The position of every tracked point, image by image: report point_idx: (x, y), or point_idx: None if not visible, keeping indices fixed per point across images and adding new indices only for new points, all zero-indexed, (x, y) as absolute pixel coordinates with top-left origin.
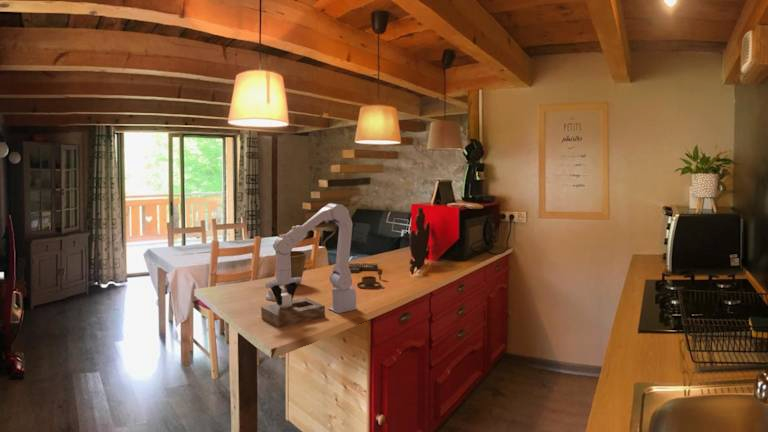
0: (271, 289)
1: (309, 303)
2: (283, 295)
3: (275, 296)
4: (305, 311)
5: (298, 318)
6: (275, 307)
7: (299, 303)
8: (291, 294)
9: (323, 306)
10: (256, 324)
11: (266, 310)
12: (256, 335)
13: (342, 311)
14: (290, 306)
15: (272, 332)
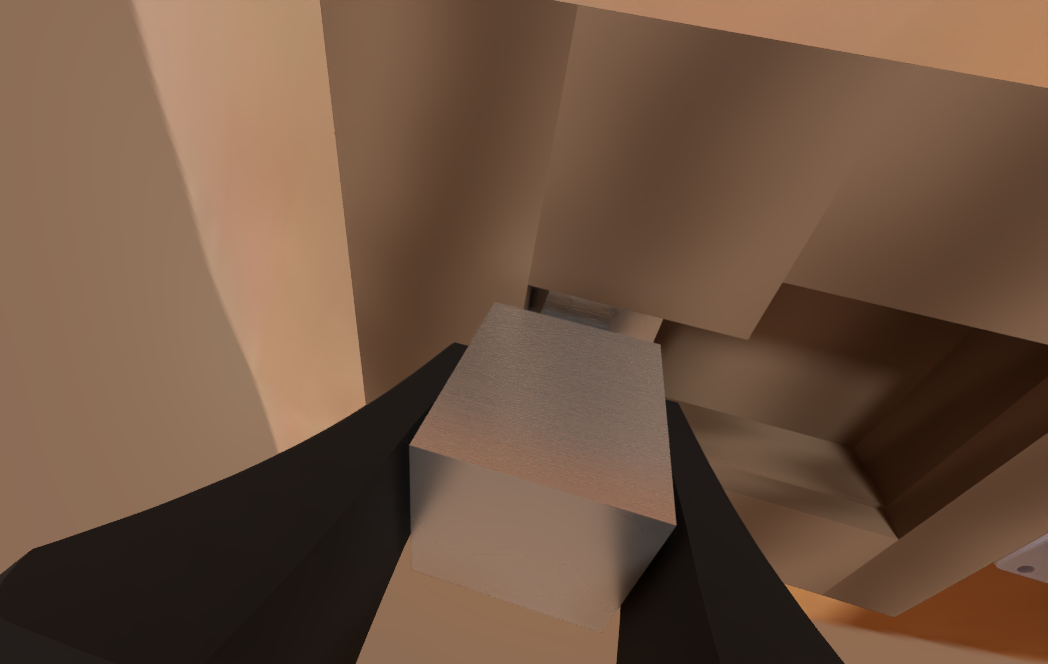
0: (112, 526)
1: (994, 452)
2: (459, 566)
3: (362, 424)
4: None
5: None
6: (490, 238)
7: (971, 318)
8: (623, 619)
9: (873, 607)
10: (299, 190)
11: (352, 210)
12: (256, 375)
13: (1044, 580)
14: (717, 322)
15: (352, 412)
